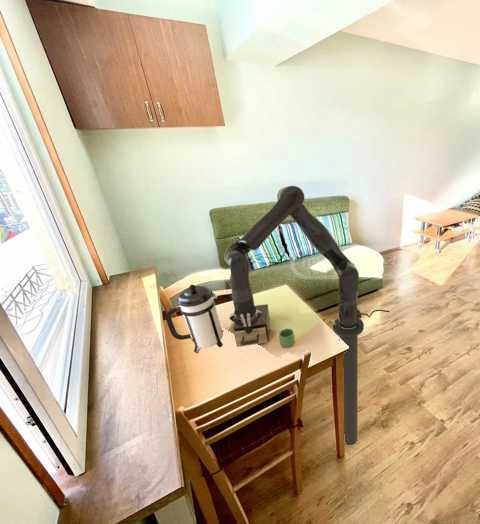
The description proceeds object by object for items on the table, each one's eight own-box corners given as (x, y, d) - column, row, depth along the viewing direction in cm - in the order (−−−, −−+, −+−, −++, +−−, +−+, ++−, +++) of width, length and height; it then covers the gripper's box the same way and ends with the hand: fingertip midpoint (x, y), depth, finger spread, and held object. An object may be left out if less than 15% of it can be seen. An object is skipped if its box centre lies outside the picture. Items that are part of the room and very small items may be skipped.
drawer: (266, 349, 118) (264, 335, 115) (235, 354, 115) (232, 340, 112) (268, 322, 136) (266, 309, 133) (241, 326, 134) (238, 313, 131)
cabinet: (269, 340, 125) (266, 323, 121) (236, 345, 122) (232, 328, 118) (270, 319, 140) (267, 304, 136) (241, 323, 137) (238, 307, 133)
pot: (294, 337, 127) (293, 327, 125) (295, 346, 121) (293, 336, 119) (280, 339, 125) (279, 329, 123) (280, 348, 120) (279, 338, 118)
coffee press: (211, 326, 133) (194, 271, 119) (234, 337, 126) (220, 280, 112) (176, 349, 120) (153, 291, 106) (200, 363, 113) (179, 303, 99)
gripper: (260, 290, 115) (265, 325, 122) (226, 294, 112) (233, 329, 119) (259, 299, 108) (265, 335, 115) (223, 303, 105) (231, 340, 112)
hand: (249, 332), depth 117 cm, fingers closed
